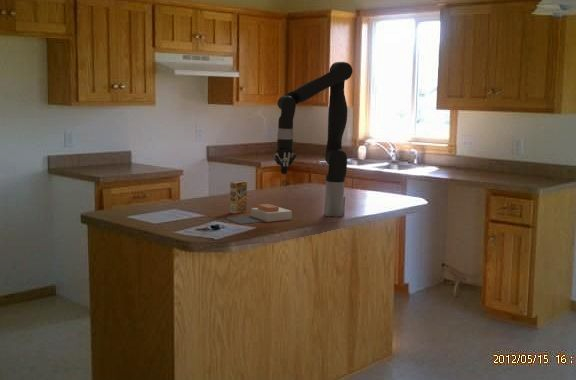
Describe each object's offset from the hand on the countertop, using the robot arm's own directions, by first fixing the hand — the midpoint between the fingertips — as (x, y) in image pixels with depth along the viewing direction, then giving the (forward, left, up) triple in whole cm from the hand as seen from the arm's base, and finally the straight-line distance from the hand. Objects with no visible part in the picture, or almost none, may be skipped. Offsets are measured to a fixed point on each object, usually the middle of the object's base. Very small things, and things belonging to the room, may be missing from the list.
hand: (283, 173), depth 329 cm
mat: (+21, 0, -21) cm, 30 cm away
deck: (+6, 0, -21) cm, 22 cm away
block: (+8, 0, -17) cm, 19 cm away
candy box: (+13, -19, -21) cm, 32 cm away
